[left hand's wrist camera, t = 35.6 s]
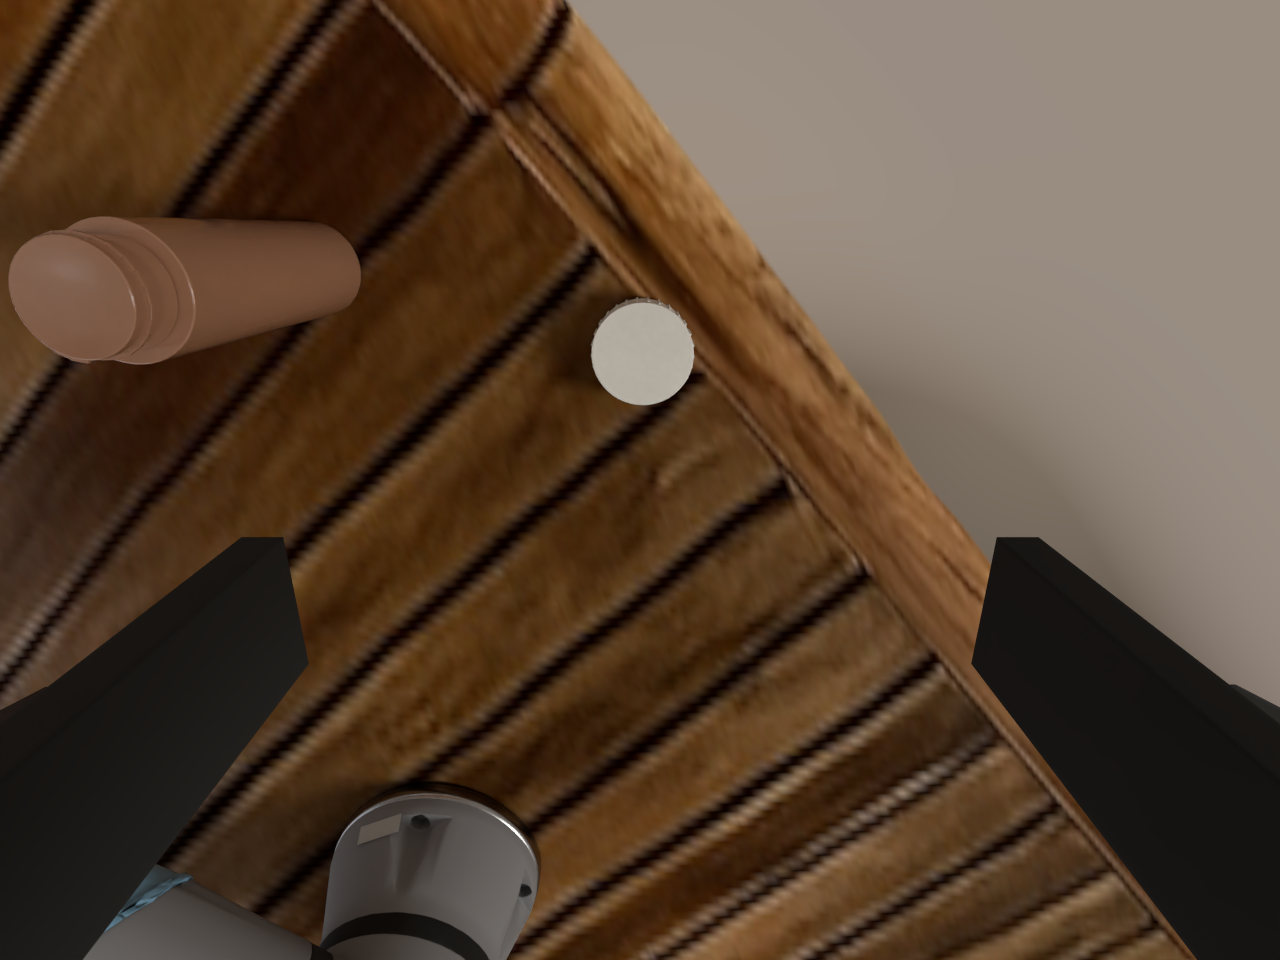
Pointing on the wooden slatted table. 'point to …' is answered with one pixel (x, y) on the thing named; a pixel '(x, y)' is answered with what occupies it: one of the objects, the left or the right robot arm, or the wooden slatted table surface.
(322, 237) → the brown bottle
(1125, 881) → the wooden slatted table surface
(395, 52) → the wooden slatted table surface
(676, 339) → the lid
